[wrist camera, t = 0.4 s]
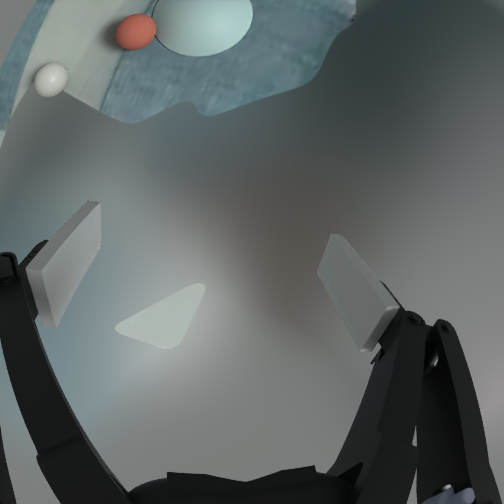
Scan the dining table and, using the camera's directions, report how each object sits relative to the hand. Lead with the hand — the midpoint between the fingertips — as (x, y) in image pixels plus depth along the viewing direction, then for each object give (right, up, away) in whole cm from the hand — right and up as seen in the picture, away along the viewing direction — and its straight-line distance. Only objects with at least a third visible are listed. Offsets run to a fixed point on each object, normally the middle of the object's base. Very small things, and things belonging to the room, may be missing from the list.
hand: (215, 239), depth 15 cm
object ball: (-13, +28, +10) cm, 32 cm away
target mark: (-5, +32, +12) cm, 35 cm away
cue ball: (-26, +24, +11) cm, 37 cm away
